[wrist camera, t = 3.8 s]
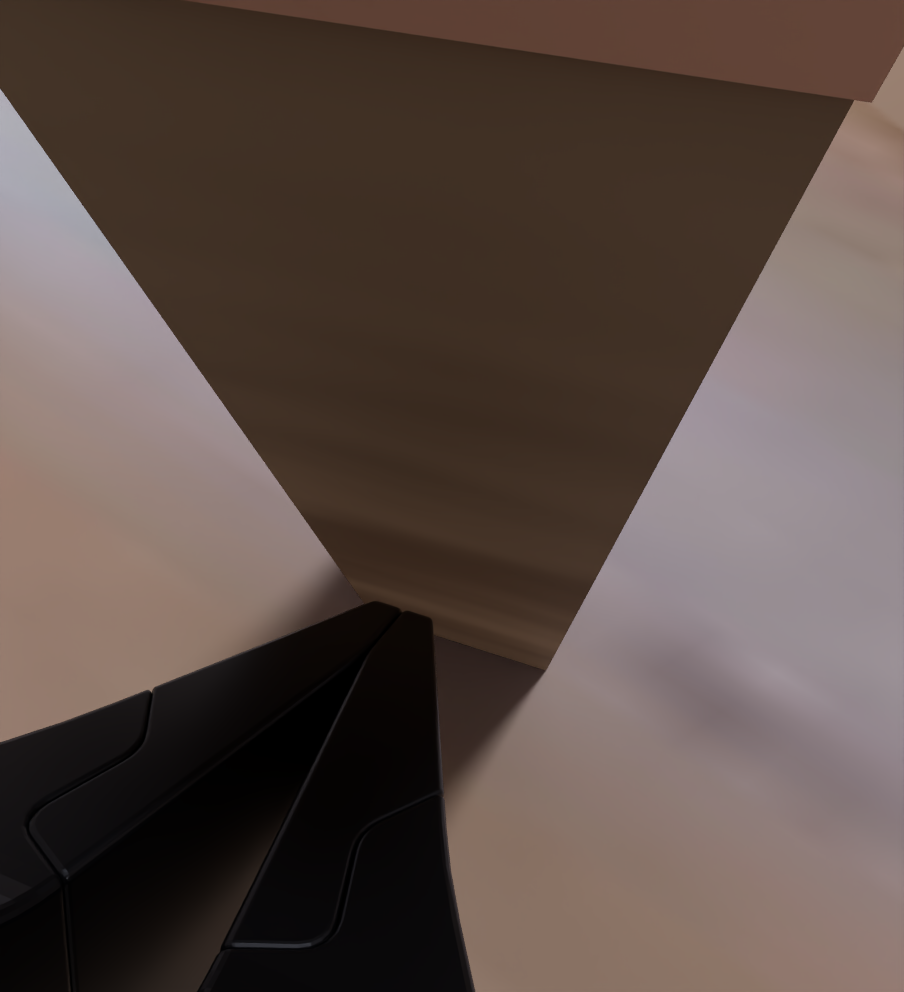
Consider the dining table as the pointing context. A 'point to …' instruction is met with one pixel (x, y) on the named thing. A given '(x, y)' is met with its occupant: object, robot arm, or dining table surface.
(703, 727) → the dining table surface
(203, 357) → the wooden block
